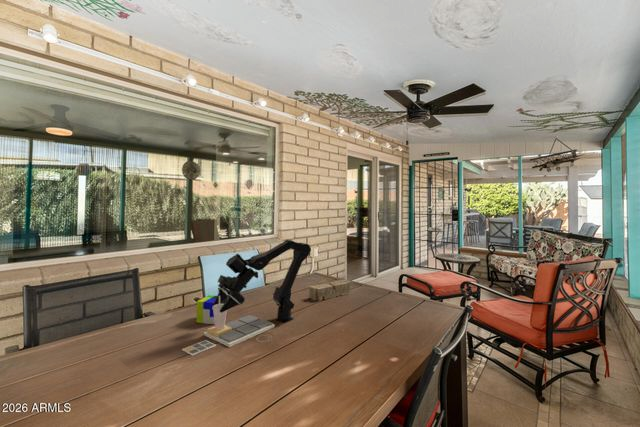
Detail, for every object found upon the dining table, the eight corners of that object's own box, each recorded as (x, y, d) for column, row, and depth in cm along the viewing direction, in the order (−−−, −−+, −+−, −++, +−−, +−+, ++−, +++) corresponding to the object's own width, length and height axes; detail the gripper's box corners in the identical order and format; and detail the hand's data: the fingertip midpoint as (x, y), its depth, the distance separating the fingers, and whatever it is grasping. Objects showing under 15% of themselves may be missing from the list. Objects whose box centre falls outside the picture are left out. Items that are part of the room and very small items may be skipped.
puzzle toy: (215, 324, 137) (216, 303, 136) (196, 322, 139) (196, 301, 138) (226, 316, 146) (227, 296, 146) (208, 314, 148) (209, 295, 148)
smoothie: (219, 324, 130) (220, 292, 130) (230, 327, 128) (231, 295, 127) (208, 329, 125) (209, 296, 124) (220, 332, 122) (220, 299, 122)
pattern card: (205, 340, 120) (205, 339, 120) (216, 345, 116) (216, 344, 116) (182, 349, 112) (182, 348, 112) (192, 355, 108) (192, 354, 108)
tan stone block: (316, 303, 173) (352, 293, 192) (316, 289, 173) (352, 280, 191) (308, 300, 179) (343, 290, 198) (308, 286, 179) (343, 278, 197)
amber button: (221, 328, 131) (221, 323, 131) (231, 333, 127) (232, 328, 127) (207, 334, 125) (207, 329, 125) (217, 338, 121) (217, 333, 121)
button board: (249, 318, 146) (249, 313, 145) (274, 326, 136) (274, 322, 136) (203, 335, 125) (204, 330, 125) (229, 347, 115) (229, 342, 115)
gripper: (222, 264, 135) (197, 292, 129) (237, 272, 120) (209, 304, 114) (239, 279, 140) (215, 306, 134) (255, 288, 125) (229, 320, 119)
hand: (216, 308), depth 125 cm, fingers open, 9 cm apart
